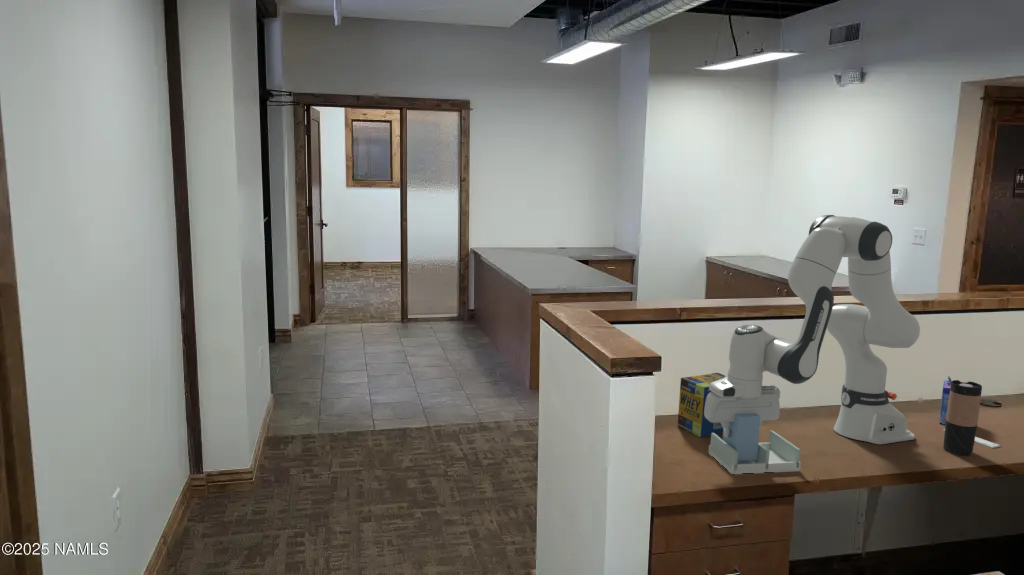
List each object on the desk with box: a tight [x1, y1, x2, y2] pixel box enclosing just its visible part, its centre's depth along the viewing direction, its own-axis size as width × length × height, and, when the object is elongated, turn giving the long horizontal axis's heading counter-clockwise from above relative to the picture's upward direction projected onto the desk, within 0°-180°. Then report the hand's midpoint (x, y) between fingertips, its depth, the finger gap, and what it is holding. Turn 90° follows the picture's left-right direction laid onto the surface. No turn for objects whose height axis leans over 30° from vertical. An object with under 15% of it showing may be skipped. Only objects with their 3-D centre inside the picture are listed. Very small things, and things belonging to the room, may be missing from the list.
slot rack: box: [708, 430, 802, 475], centre depth 194 cm, size 19×14×6 cm
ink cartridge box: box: [939, 375, 953, 425], centre depth 230 cm, size 10×6×14 cm, turn 148°
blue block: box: [722, 413, 761, 461], centre depth 192 cm, size 6×8×12 cm
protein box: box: [677, 372, 728, 438], centre depth 218 cm, size 10×15×16 cm
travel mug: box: [943, 379, 983, 457], centre depth 205 cm, size 8×8×20 cm
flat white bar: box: [943, 428, 1002, 449], centre depth 217 cm, size 5×15×1 cm, turn 23°
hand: (740, 436), depth 192 cm, fingers closed on blue block, 6 cm apart
